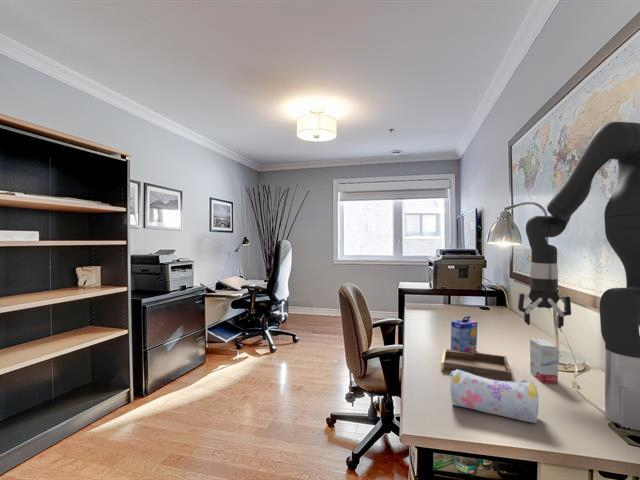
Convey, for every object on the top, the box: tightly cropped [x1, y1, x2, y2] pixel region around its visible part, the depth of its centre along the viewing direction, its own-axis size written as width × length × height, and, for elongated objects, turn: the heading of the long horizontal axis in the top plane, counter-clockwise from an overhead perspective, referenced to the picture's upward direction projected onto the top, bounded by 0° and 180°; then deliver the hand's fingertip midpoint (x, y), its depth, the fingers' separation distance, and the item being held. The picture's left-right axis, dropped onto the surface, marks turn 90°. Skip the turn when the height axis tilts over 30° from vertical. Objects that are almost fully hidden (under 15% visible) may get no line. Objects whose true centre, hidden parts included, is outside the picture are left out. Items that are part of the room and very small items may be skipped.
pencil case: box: [449, 369, 539, 424], centre depth 86 cm, size 21×9×10 cm, turn 65°
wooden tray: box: [440, 348, 512, 382], centre depth 116 cm, size 16×21×3 cm
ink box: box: [529, 338, 559, 384], centre depth 107 cm, size 9×5×12 cm, turn 168°
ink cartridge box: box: [450, 315, 478, 353], centre depth 134 cm, size 10×6×14 cm, turn 117°
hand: (543, 326), depth 107 cm, fingers open, 8 cm apart
